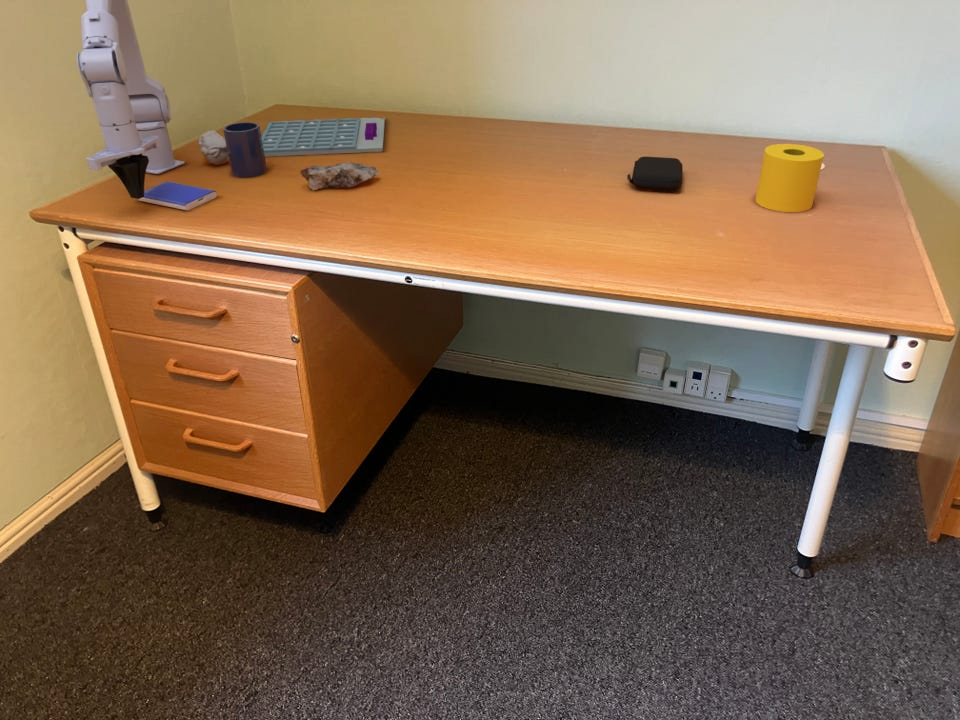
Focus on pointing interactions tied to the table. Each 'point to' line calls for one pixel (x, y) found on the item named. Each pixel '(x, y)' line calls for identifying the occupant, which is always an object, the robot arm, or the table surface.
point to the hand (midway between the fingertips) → (137, 197)
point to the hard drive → (178, 195)
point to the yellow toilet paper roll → (789, 177)
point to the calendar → (323, 136)
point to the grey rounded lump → (213, 147)
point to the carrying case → (657, 174)
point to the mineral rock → (338, 175)
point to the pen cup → (245, 149)
